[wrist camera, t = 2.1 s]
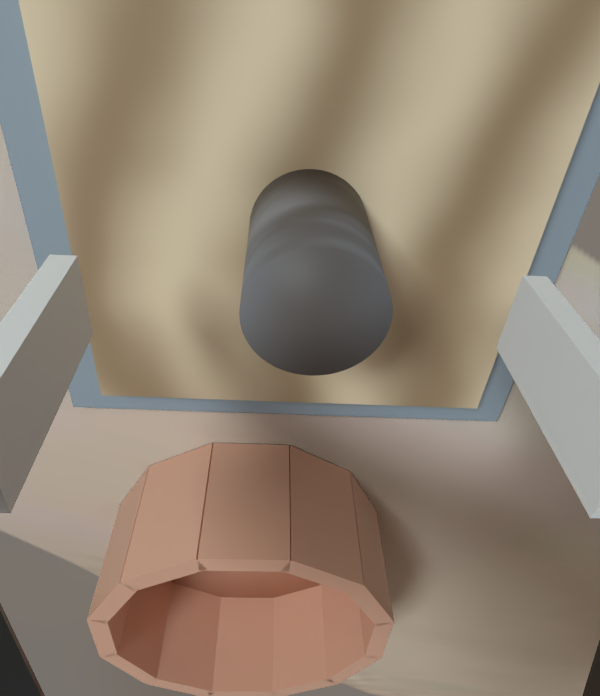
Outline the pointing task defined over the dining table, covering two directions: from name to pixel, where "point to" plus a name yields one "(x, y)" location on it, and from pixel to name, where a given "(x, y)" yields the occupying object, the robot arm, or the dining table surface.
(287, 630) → the terracotta bowl
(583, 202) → the slate mat
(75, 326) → the robot arm
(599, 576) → the dining table surface
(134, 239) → the oak lid
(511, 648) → the dining table surface
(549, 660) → the dining table surface
